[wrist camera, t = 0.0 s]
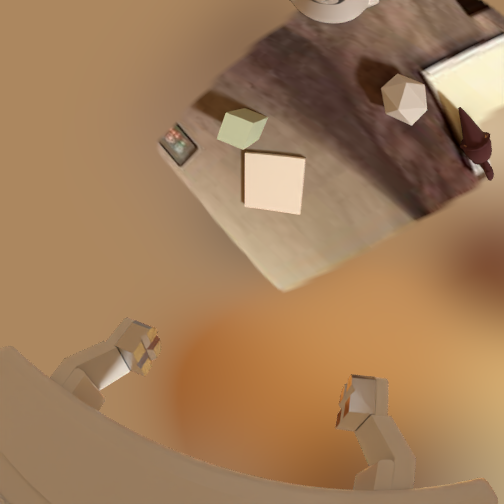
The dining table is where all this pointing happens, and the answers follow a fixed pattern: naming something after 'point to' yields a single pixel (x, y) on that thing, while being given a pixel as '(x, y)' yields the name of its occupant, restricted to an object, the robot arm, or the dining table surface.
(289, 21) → the dining table surface
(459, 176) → the dining table surface
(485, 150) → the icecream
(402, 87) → the die
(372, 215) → the dining table surface
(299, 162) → the cream tile
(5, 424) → the robot arm
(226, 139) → the green block
